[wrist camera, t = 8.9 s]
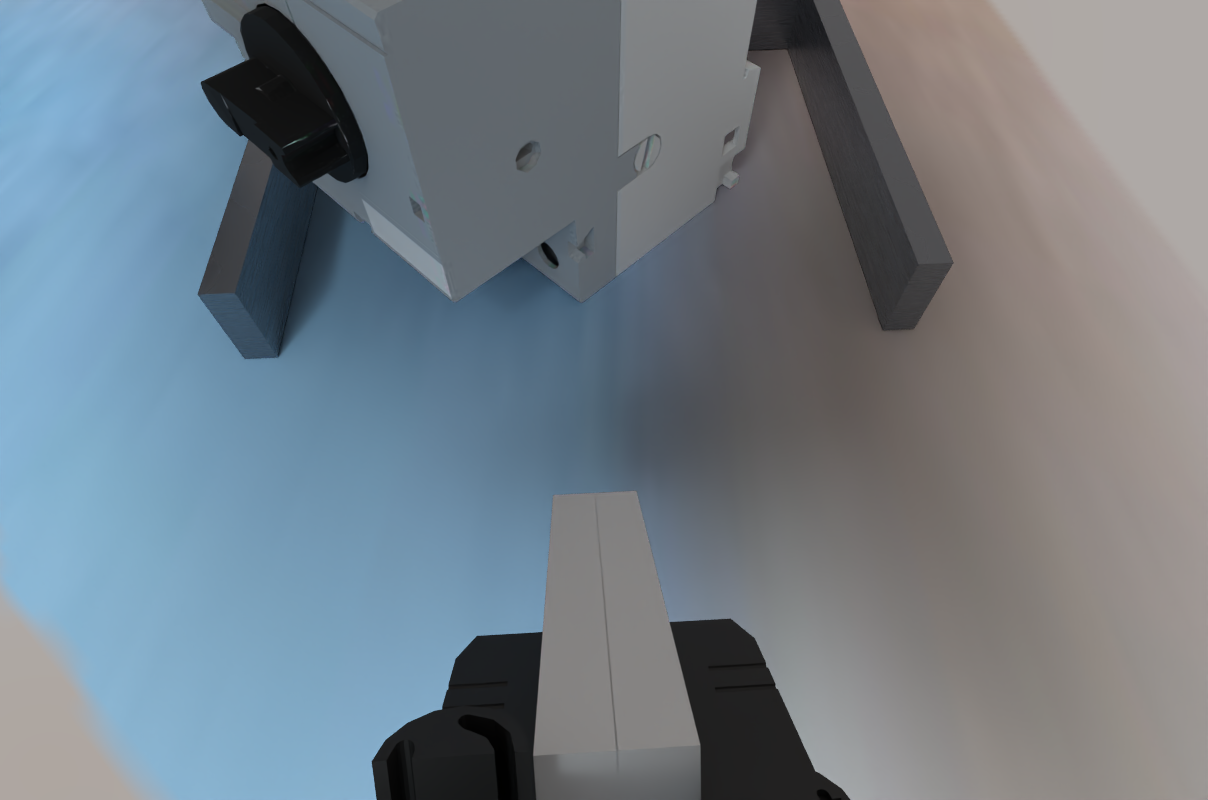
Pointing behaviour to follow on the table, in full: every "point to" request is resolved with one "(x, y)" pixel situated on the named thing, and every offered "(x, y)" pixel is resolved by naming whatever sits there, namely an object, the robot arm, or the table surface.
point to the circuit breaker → (498, 122)
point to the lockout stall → (782, 21)
